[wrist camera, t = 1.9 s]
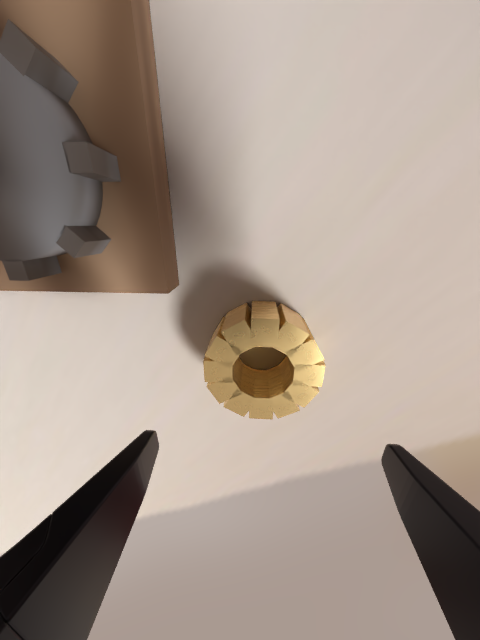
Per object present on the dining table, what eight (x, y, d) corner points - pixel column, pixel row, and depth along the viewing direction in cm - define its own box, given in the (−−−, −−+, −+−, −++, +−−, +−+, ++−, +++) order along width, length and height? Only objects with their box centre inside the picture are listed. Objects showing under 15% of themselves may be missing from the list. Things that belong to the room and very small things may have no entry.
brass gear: (318, 302, 15) (333, 320, 12) (306, 390, 17) (315, 421, 14) (210, 300, 15) (200, 317, 12) (214, 386, 18) (207, 416, 15)
